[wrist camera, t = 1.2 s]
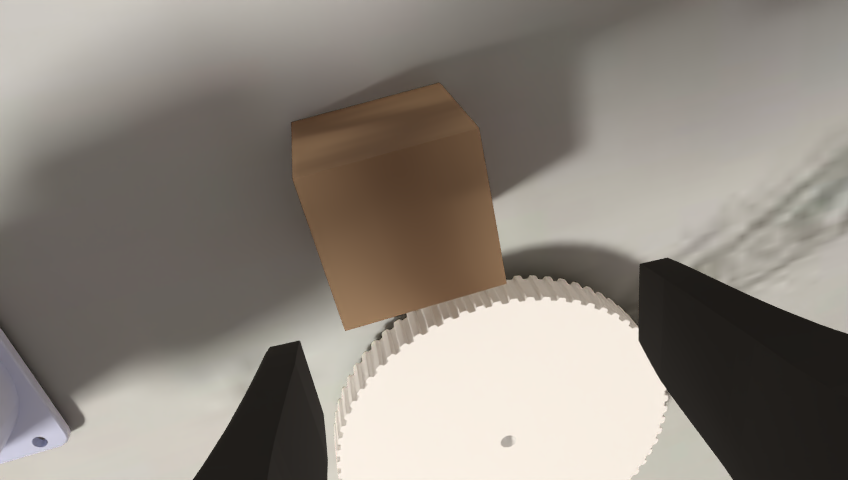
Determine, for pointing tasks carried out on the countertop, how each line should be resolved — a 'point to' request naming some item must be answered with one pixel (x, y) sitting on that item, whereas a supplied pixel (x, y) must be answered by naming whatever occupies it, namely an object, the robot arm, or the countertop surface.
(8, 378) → the robot arm
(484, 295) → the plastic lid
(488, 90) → the countertop surface
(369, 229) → the walnut cube
